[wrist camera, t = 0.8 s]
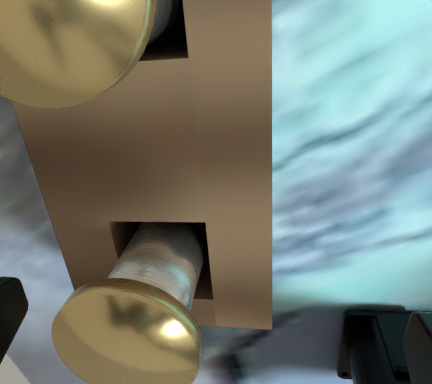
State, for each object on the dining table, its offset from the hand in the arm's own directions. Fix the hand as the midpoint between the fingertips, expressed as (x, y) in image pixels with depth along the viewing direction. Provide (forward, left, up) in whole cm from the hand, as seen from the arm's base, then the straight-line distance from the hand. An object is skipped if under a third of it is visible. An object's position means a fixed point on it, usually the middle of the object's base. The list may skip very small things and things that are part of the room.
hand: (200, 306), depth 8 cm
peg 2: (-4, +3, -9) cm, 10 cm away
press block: (+1, +3, -13) cm, 13 cm away
